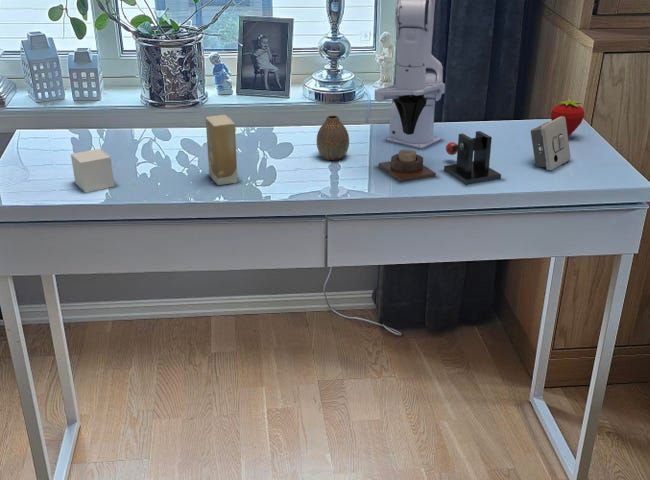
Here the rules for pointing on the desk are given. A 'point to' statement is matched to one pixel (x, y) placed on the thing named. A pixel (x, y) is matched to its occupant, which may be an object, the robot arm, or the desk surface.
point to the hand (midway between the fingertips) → (408, 133)
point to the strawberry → (569, 114)
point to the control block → (407, 169)
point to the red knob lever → (453, 147)
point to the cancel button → (407, 155)
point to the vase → (332, 139)
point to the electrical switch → (551, 144)
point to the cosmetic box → (221, 149)
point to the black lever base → (471, 169)
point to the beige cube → (92, 170)
